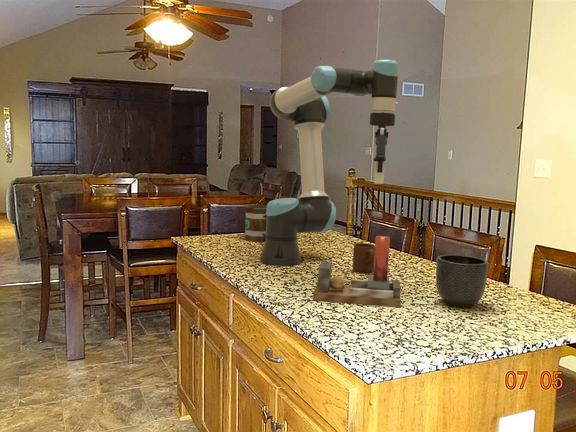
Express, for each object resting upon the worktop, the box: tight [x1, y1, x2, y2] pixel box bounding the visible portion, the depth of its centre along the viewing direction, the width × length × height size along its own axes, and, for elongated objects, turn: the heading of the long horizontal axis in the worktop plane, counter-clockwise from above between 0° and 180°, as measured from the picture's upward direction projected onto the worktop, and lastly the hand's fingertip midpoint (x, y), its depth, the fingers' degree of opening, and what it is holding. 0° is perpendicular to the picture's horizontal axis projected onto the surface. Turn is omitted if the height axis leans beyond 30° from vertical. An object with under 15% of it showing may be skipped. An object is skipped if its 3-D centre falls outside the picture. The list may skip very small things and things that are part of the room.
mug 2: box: [352, 242, 375, 275], centre depth 187 cm, size 12×8×9 cm, turn 13°
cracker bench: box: [312, 261, 402, 308], centre depth 155 cm, size 24×12×9 cm, turn 81°
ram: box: [367, 235, 391, 291], centre depth 153 cm, size 6×8×16 cm
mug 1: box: [244, 204, 267, 243], centre depth 242 cm, size 20×14×15 cm
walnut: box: [330, 275, 345, 289], centre depth 156 cm, size 4×4×4 cm
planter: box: [435, 254, 489, 309], centre depth 152 cm, size 14×14×13 cm
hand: (378, 182), depth 167 cm, fingers open, 13 cm apart
